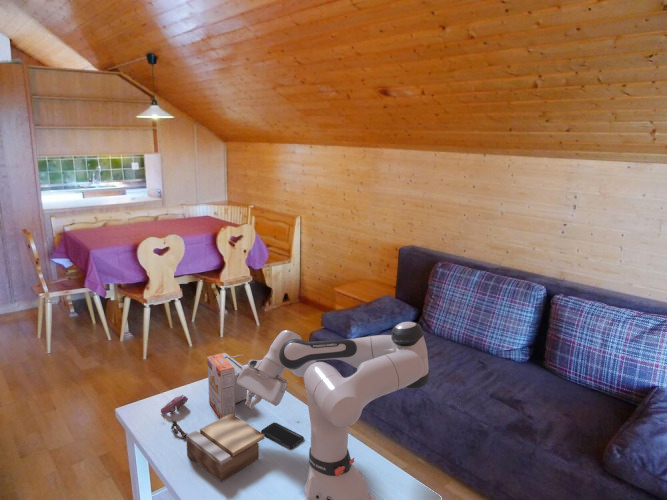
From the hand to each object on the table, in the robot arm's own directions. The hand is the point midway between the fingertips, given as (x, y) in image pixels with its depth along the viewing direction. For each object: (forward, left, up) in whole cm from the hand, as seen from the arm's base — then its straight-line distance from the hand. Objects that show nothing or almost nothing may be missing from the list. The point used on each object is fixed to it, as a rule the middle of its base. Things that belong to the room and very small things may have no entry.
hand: (248, 406), depth 168 cm
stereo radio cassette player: (+31, -15, -14) cm, 37 cm away
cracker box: (+22, -5, -14) cm, 27 cm away
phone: (-7, -10, -14) cm, 18 cm away
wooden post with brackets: (+21, +15, -14) cm, 29 cm away
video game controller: (+35, +8, -14) cm, 39 cm away
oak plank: (-1, +8, -7) cm, 11 cm away
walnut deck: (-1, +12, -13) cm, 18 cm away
